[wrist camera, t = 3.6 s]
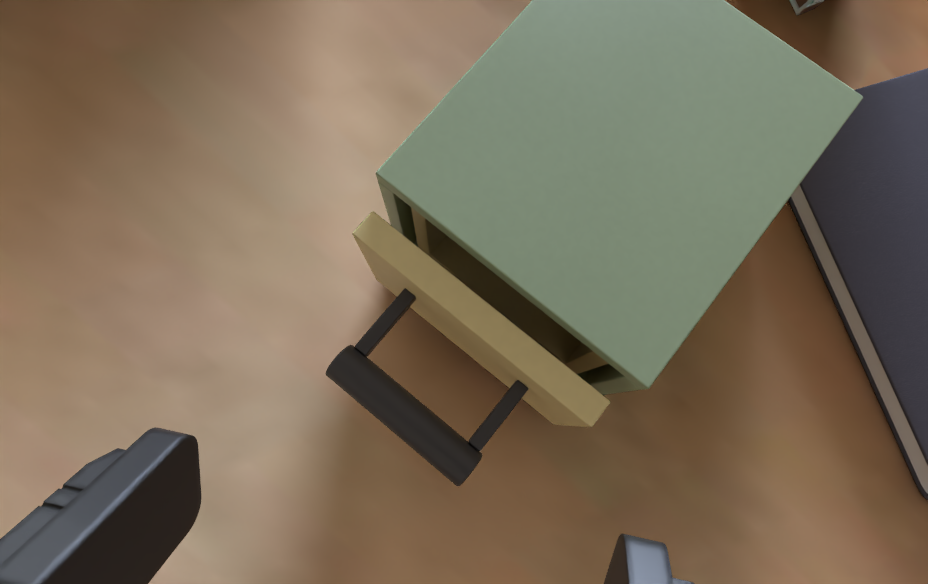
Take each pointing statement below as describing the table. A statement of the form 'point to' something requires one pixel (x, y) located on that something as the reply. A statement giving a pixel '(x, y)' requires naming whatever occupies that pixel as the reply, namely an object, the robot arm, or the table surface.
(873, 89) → the notebook
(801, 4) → the food container
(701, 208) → the cabinet
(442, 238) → the drawer
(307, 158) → the table surface
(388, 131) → the table surface
